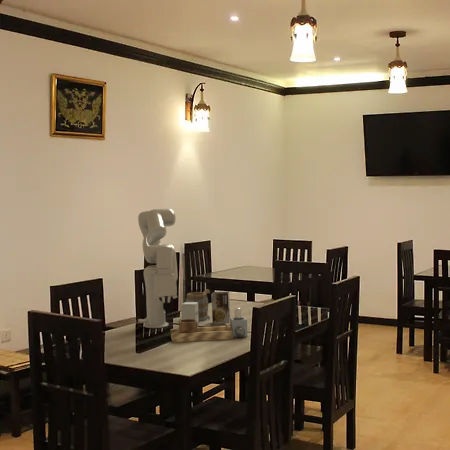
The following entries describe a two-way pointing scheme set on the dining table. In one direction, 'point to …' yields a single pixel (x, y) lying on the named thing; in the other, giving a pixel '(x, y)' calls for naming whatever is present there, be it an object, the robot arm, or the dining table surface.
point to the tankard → (200, 303)
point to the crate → (188, 326)
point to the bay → (203, 334)
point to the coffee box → (220, 307)
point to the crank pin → (238, 314)
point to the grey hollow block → (239, 327)
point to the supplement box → (190, 311)
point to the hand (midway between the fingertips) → (166, 311)
